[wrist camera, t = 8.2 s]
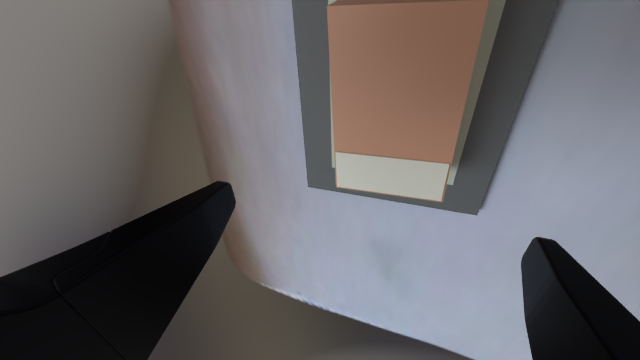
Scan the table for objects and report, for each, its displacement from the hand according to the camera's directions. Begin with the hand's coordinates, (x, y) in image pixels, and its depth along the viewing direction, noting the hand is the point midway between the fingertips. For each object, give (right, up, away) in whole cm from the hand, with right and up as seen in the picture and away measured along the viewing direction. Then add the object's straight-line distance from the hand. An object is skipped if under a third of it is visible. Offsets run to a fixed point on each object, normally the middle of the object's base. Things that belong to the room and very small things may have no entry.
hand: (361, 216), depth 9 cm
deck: (+3, +6, +8) cm, 10 cm away
